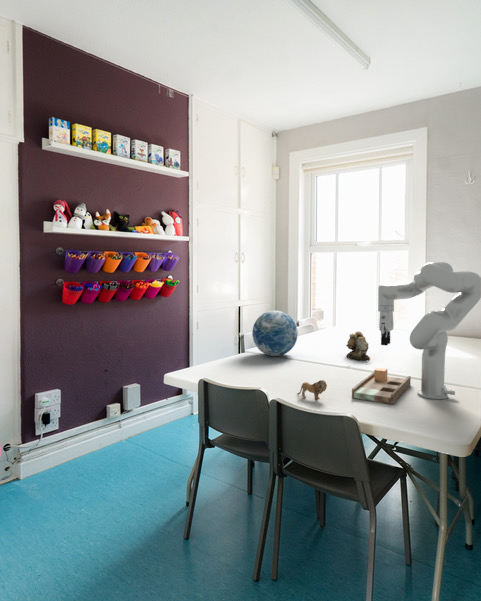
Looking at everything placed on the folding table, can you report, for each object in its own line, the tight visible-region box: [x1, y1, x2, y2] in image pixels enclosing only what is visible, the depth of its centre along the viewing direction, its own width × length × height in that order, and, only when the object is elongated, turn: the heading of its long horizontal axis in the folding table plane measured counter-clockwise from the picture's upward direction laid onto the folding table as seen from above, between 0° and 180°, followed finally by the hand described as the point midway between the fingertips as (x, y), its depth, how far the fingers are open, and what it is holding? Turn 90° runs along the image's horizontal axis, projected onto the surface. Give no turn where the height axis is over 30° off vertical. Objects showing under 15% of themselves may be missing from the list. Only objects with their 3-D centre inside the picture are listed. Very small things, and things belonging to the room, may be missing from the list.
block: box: [373, 367, 388, 381], centre depth 215 cm, size 5×5×5 cm
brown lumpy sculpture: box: [345, 331, 371, 361], centre depth 276 cm, size 18×12×17 cm, turn 30°
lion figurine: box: [296, 379, 328, 402], centre depth 197 cm, size 15×5×9 cm, turn 55°
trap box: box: [351, 371, 411, 406], centre depth 205 cm, size 18×34×4 cm, turn 147°
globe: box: [251, 310, 299, 357], centre depth 286 cm, size 30×30×30 cm
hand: (385, 343), depth 221 cm, fingers open, 4 cm apart
